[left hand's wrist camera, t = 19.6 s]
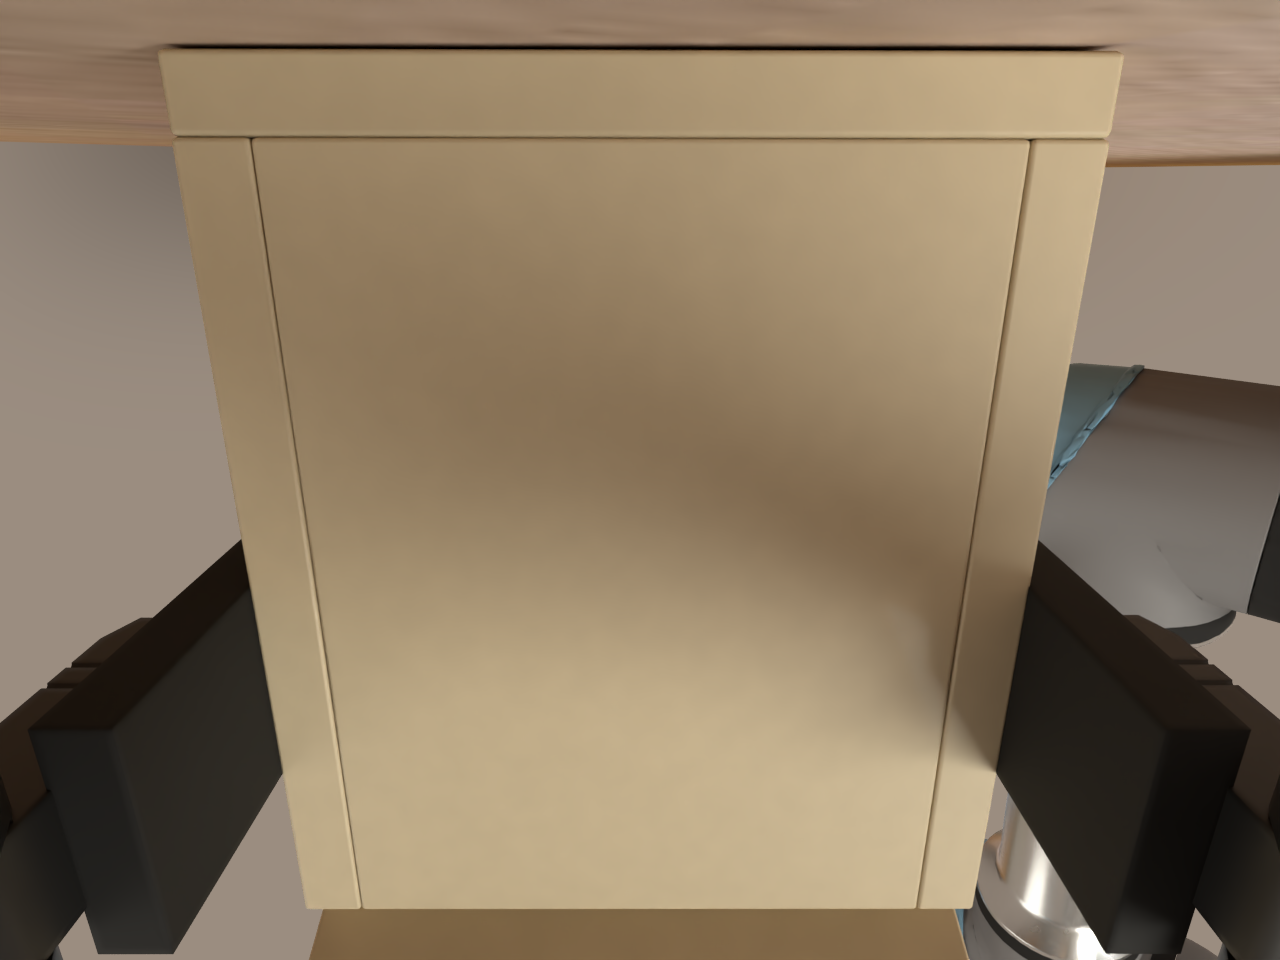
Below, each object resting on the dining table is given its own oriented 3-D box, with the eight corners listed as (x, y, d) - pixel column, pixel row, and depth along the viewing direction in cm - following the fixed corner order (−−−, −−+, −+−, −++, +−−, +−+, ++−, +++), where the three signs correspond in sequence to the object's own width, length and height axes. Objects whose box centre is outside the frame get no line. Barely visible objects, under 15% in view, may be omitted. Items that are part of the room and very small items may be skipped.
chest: (828, 141, 20) (798, 540, 24) (450, 141, 20) (478, 540, 24) (1128, 50, 8) (973, 910, 11) (153, 47, 8) (304, 911, 11)
